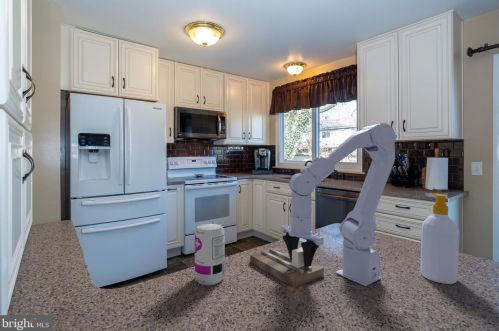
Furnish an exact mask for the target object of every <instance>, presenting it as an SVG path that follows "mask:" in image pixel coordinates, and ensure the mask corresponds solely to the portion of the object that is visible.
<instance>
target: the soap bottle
mask: <svg viewBox="0 0 499 331" xmlns="http://www.w3.org/2000/svg"><path fill="white" fill-rule="evenodd" d="M432 196H435V197H436V201H435V202H434V203H433V206H432V214H431V215H428V216H427V218H426V219H424V221H423V222H422V224H421V240H420V242H421V243H420V246H421V247H420V269H419V272H420V274H421V276H422V277H424V279H425V278H426V279H427V280H429V281H432V282H436V283H439V284H449V285H452V284H457V282H458V277H459V276H458V274H459V273H458V272H459V252H460V251H459V250H460V246H459V245H460V229H459V226H458V225H457V223H456V222H455V221H454V220H453V219H452V217H449V205H447V202H446V197H447V195H444V194H440V193H438V192H437V193H435V192H434V193H433V192H432Z"/></svg>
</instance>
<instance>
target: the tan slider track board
mask: <svg viewBox="0 0 499 331" xmlns="http://www.w3.org/2000/svg"><path fill="white" fill-rule="evenodd" d="M249 262H250V264H252V265H254V266H256V267H257V268H259V269H261V270H263V271H264V272H266V273H268V275H269V274H270V275H271V276H273V277H274V278H276V279H278V280H280V281H282V282H284V284H286V285H289V286H290V287H291V288H293V289H296V288H299V287H300V286H303V285H305V284H308V283H309V282H313V281H315V280H318V279H319V278H322V277H324V274H325V273H324V272H325V271H324V270H325V268H324V267H323V266H321V265H319V264H316V263H314V262H312V264H311V266H310V267H307V269H304V270H302V269H300V268H296V267H294V266H292V260H290V257H289V253H288V250H287V251H286V249H285V250H284V249H282V248H280V247H275V248H269V249H267V250H264V249H263V250H261V252H256V253H253V254H252V253H251V254H250V255H249Z"/></svg>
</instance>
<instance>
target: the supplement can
mask: <svg viewBox="0 0 499 331" xmlns="http://www.w3.org/2000/svg"><path fill="white" fill-rule="evenodd" d="M225 233H226V231H225V229H224V228H223V225H222V224H220V223H216V222H206V223H201V224H198V225H197V226H196V229H195V231H194V280H195V281H196V282H197V284H200V285H202V286H213V285H214V286H215V285H218V284H220V283H221V282H222V280H224V278H225V272H226V271H225V264H226V263H225V262H226V261H225V259H226V258H225V255H226V254H225V251H226V249H225V245H226V244H225V239H226V238H225V236H226V235H225Z"/></svg>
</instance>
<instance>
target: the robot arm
mask: <svg viewBox="0 0 499 331" xmlns="http://www.w3.org/2000/svg"><path fill="white" fill-rule="evenodd" d="M397 137H398V136H397V134H396V132H395V130H394V128H393V127H392V126H391V125H390V124H389V123H387V122H380V123H377V124H373V125H369V126H367V125H365V126H363V127H361V128H359V129H358V130H356V131H355V132H352V134H350V136H349V137H347V139H345V140H344V141H343V142H341V143H340V144H339V145H337V147H336V148H334V150H332V151H331V152H330V153H329V154H328V155H327V156H324V155H320V156H315V157H314V158H312V162H311V163H310V164H308V165H307V166H306V167H302V168H300V169H299V170H300V172H299V173H295V174H293V175H292V176H291V177H290V180H289V182H288V186H289V188H290V190H291V195H290V196H291V199H290V225H287V224H283V225H281V226H280V232H281V233H284V235H283V236H282V240H283V241H284V244H285V245H286V249H287V252H288V253H289V257H290V260H292V250H294V249H298V248H299V242H300V239H303V240H306V241H302V242H300V245H301V246H300V247H302V249H303V254H304V266H305V267H310V266H311V264H312V263H313V260H314V257H315V255H316V252H317V250H318V248H319V247H320V246H322V245H324V240H325V239H324V236H321V235H319V234H317V233H316V232H314V231H312V193H313V192H314V191H315V188H316V186H317V185H319V184H320V183H321V182H323V181H324V179H326V178H327V177H328V176H330V175H331V174H332V173H334V172H335V166H336V165H337V164H338V163H339V162H341V161H342V160H344V159H346V158H347V157H348V156H350V155H351V154H352V153H354V152H355V151H356V150H358V149H361V148H362V149H364V151H366V152H367V153H368V155H369V156H370V159H372V160H371V163H370V166H369V168H368V171H367V174H366V176H365V179H364V182H363V185H362V188H361V190H360V192H359V195H358V198H357V200H356V203H355V206H354V208H353V210H351V211H350V212H348V213H347V215H346V217H345V219H344V220H343V221H341V224H339V225H340V226H339V233H340V235H341V236H342V237H343V240H342V269H339V270H336V271H335V273H336V274H337V275H339V276H341V277H344V278H345V279H346V278H347V280H351V281H352V282H355V283H356V284H360V285H362V286H363V287H364V286H365V287H367V286H369V285H372V284H374V282H377V281H379V280H380V279H382V277H381V276H380V272H381V271H380V268H381V267H380V264H381V259H380V258H381V257H380V253H379V252H378V251H377V250H375V249H373V248H371V247H372V246H373V245H374V243H375V241H376V240H375V239H376V234H375V233H376V232H375V231H376V229H377V223H376V220H375V218H374V216H375V214H376V211H377V208H378V205H379V202H380V199H381V197H382V195H383V192H384V190H385V186H386V184H387V181H388V179H389V177H390V174H391V171H392V169H393V166H394V163H395V160H396V147H395V143H396V140H397Z"/></svg>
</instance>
